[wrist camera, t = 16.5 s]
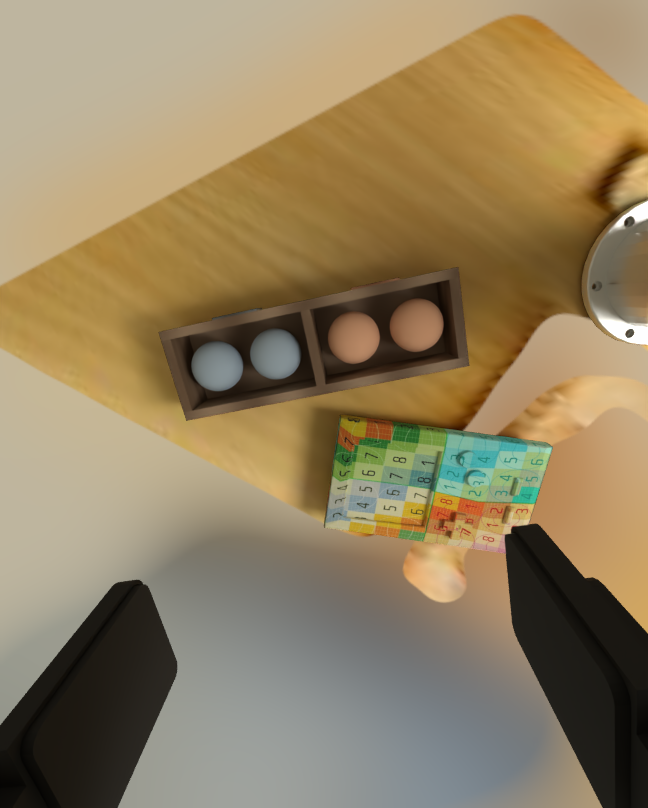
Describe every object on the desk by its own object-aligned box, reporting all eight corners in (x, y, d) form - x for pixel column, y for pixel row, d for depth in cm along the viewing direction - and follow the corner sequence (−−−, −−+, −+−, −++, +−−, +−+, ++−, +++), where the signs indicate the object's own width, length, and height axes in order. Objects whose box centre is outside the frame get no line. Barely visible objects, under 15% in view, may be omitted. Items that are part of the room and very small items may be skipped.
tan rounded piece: (432, 293, 35) (446, 292, 30) (439, 343, 36) (453, 349, 32) (382, 304, 35) (389, 304, 31) (390, 352, 36) (398, 360, 32)
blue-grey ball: (241, 334, 36) (228, 339, 32) (253, 380, 38) (242, 391, 33) (195, 343, 37) (176, 349, 32) (209, 389, 38) (192, 400, 34)
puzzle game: (524, 560, 38) (323, 532, 38) (504, 532, 42) (325, 507, 42) (558, 450, 34) (340, 421, 34) (533, 433, 39) (340, 407, 39)
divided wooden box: (442, 269, 35) (457, 264, 30) (452, 357, 37) (469, 365, 32) (180, 326, 37) (157, 329, 32) (204, 406, 39) (186, 420, 35)
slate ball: (297, 322, 36) (291, 325, 32) (308, 369, 37) (303, 378, 33) (251, 332, 36) (238, 336, 32) (262, 378, 38) (252, 388, 33)
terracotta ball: (373, 305, 35) (376, 307, 31) (381, 354, 36) (385, 362, 32) (324, 316, 36) (321, 318, 31) (334, 363, 37) (332, 372, 33)
